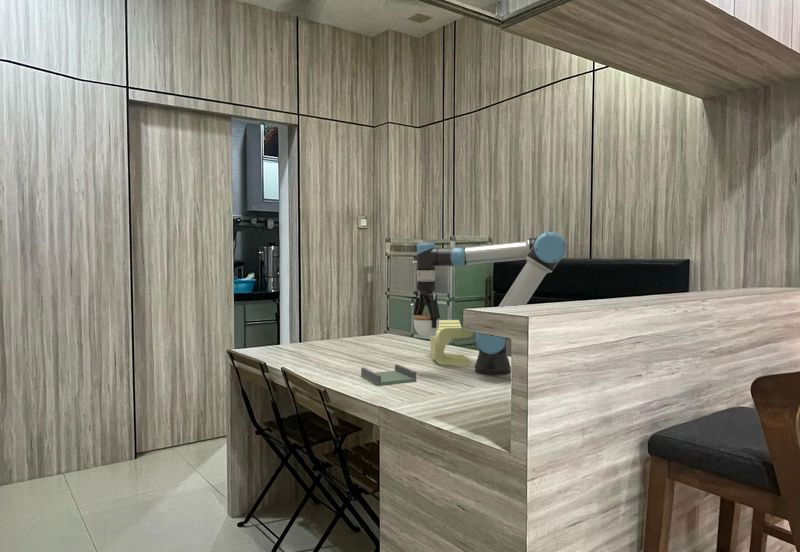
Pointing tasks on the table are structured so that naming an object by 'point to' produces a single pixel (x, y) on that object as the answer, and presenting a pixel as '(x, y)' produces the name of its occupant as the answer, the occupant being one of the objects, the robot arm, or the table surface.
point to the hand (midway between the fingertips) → (426, 334)
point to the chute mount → (389, 376)
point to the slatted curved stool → (443, 336)
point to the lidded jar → (423, 324)
